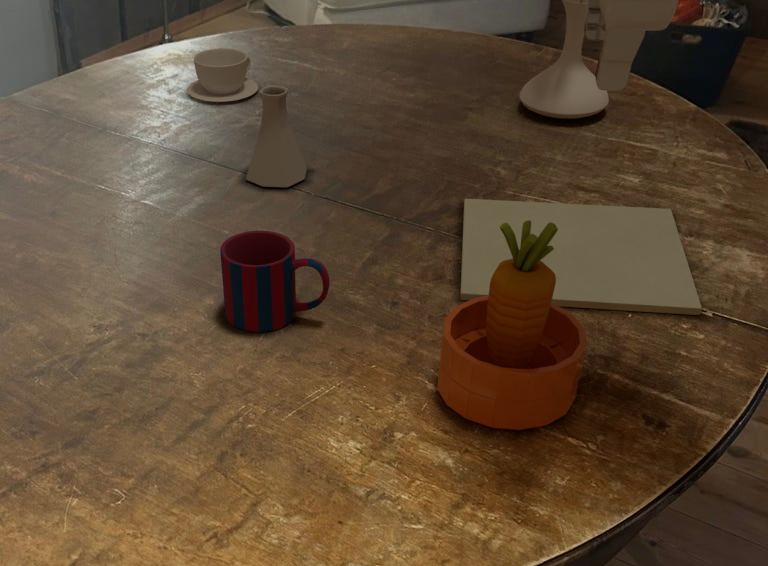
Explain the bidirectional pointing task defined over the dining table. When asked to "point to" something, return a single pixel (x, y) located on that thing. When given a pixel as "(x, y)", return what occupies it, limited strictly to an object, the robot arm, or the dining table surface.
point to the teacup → (222, 76)
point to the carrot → (520, 298)
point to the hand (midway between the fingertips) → (602, 60)
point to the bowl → (509, 370)
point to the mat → (586, 254)
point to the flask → (276, 144)
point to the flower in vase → (566, 76)
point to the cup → (263, 280)
